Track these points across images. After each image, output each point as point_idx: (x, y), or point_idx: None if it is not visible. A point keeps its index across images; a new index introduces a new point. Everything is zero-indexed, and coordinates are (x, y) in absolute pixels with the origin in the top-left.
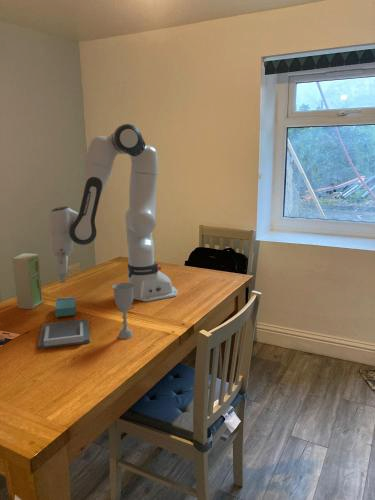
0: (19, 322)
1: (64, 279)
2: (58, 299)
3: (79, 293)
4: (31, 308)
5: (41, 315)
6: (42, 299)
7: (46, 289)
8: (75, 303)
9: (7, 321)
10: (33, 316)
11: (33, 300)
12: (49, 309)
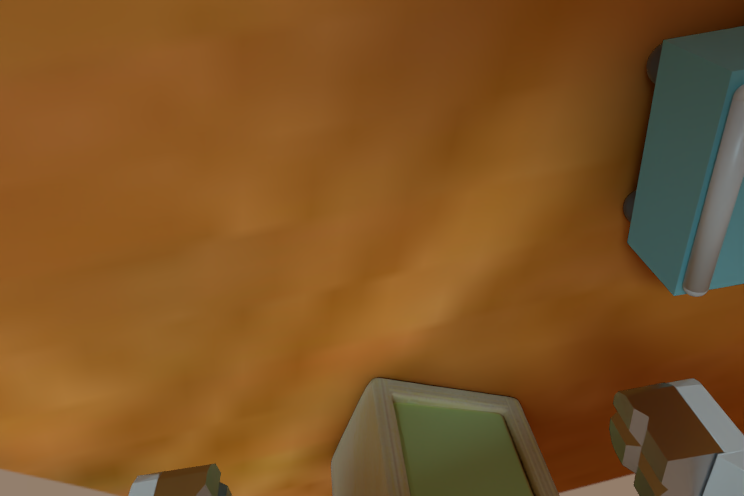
0: (739, 397)
1: (738, 438)
2: (708, 275)
3: (71, 72)
4: (517, 406)
5: (683, 310)
6: (377, 397)
7: (14, 431)
8: (709, 43)
9: None
10: (674, 354)
11: (508, 452)
12: (569, 287)
